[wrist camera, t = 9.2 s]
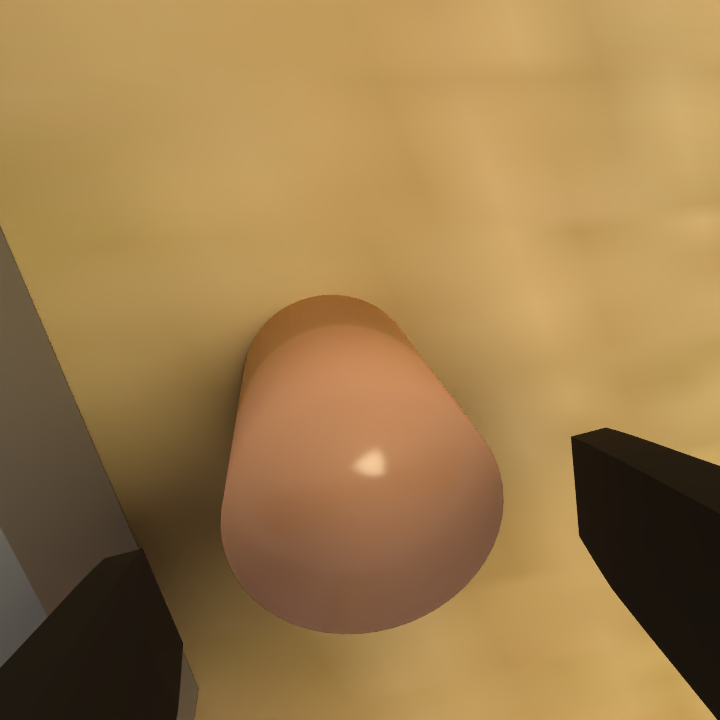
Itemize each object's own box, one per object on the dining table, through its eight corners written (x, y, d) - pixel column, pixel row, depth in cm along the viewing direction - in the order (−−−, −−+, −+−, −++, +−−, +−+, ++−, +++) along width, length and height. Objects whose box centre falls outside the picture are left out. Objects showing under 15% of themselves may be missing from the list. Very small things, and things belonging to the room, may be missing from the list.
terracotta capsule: (426, 432, 17) (517, 593, 11) (269, 472, 17) (264, 663, 11) (397, 276, 16) (484, 356, 9) (221, 318, 15) (181, 433, 9)
